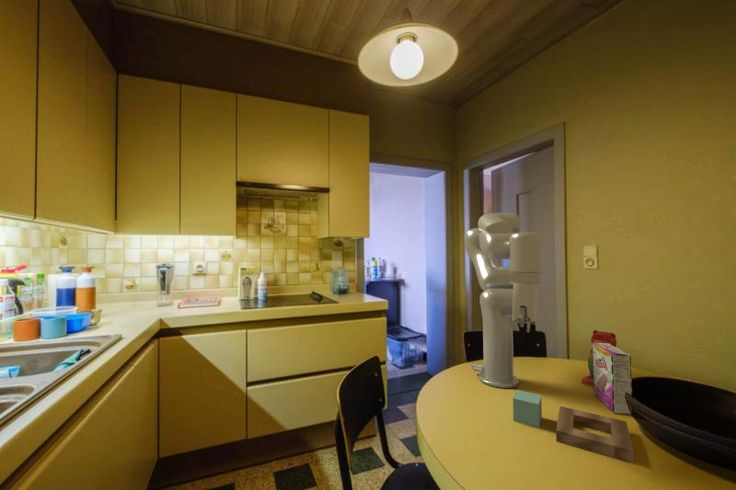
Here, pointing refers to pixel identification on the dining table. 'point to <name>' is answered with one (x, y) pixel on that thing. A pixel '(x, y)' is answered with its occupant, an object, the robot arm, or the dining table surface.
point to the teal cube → (527, 408)
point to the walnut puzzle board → (604, 445)
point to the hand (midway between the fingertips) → (526, 342)
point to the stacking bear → (596, 338)
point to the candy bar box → (612, 376)
